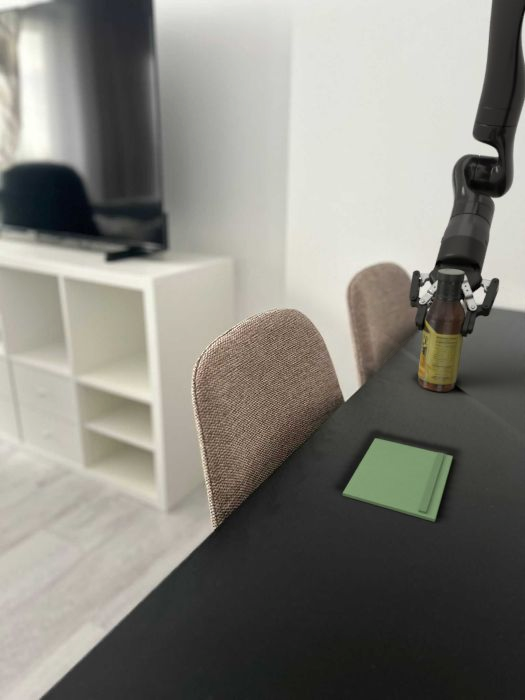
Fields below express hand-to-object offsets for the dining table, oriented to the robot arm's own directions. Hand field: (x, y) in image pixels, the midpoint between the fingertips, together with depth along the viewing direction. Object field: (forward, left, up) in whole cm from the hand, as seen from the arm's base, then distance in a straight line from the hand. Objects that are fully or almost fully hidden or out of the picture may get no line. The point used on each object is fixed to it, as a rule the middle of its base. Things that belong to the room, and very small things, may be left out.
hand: (441, 330), depth 82 cm
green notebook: (+17, +23, -10) cm, 30 cm away
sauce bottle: (-1, -1, -11) cm, 11 cm away
